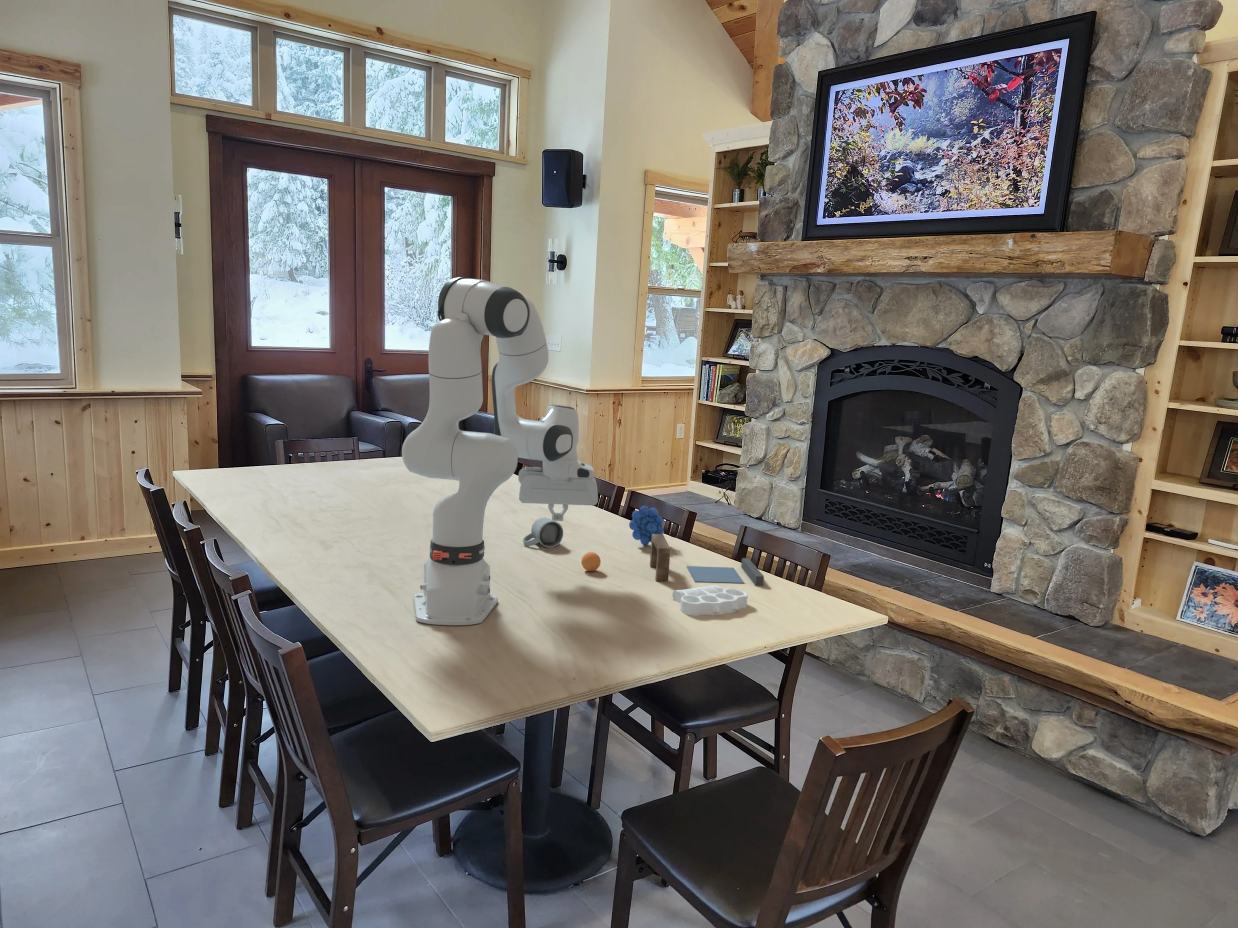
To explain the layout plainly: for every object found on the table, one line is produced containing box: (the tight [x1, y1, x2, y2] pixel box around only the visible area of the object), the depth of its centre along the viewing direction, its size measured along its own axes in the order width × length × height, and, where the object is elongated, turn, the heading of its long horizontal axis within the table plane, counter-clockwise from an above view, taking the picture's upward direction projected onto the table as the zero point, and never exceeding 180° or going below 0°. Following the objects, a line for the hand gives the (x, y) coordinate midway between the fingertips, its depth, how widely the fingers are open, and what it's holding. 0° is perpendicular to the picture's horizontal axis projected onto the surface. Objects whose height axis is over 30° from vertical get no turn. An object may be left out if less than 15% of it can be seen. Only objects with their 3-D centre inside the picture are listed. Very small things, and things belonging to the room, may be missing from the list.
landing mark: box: [686, 565, 745, 584], centre depth 221 cm, size 13×13×1 cm
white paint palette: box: [672, 584, 749, 617], centre depth 197 cm, size 3×18×15 cm
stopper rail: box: [740, 557, 765, 587], centre depth 222 cm, size 16×2×2 cm, turn 5°
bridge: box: [649, 533, 671, 583], centre depth 219 cm, size 3×14×9 cm, turn 5°
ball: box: [581, 551, 602, 572], centre depth 218 cm, size 5×5×5 cm
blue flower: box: [628, 505, 665, 546], centre depth 244 cm, size 12×7×12 cm, turn 117°
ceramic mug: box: [522, 517, 564, 548], centre depth 240 cm, size 11×8×8 cm
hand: (557, 520), depth 215 cm, fingers closed
